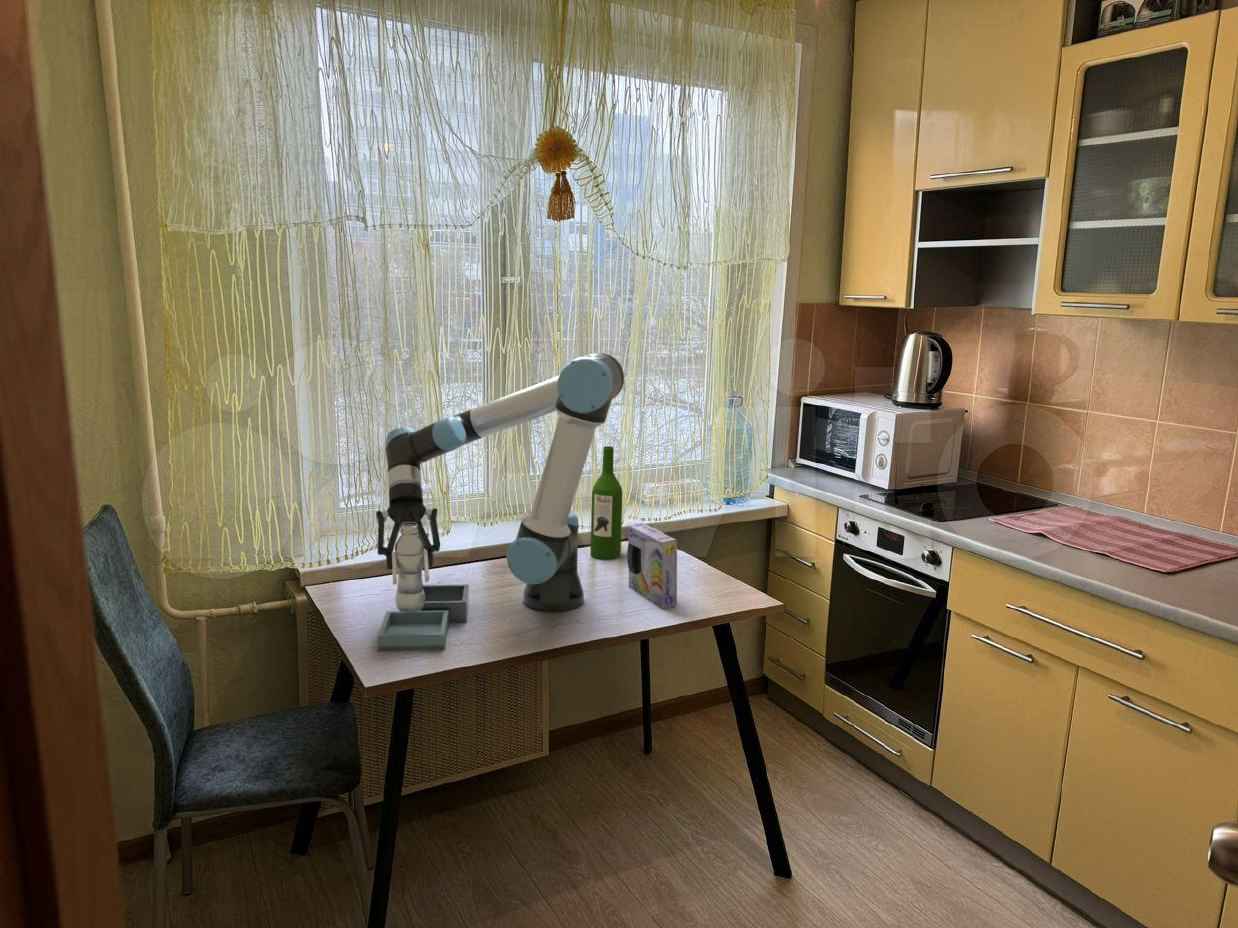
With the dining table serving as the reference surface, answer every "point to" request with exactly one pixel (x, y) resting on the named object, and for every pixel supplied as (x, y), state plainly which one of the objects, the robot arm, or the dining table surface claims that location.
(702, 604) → the dining table surface
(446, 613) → the tray
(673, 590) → the purple product box
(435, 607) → the holder sleeve
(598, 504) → the wine bottle
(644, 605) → the dining table surface
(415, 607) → the metal bottle
